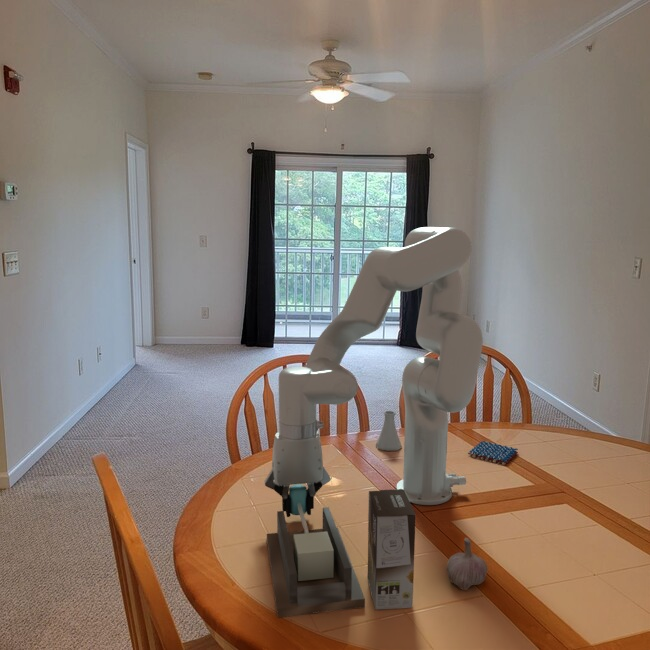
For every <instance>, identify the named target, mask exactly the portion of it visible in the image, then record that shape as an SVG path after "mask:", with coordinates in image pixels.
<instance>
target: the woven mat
mask: <svg viewBox="0 0 650 650" xmlns="http://www.w3.org/2000/svg"><path fill="white" fill-rule="evenodd" d="M518 450H519V448H516V447H513V446H508V445H502V444H498V443H493V442H492V443H491V441H489V442H488V441H485V440H483V441H480V442H479V443H478V444H476V445H475V446H474V447H473V448H471V450H469V452H467V454H468V457H469V458H471V457H472V458H476V459H477V460H482V461H483V460H484V461H488V460H489V463H490V462H492V463H496V464H497V465H499V464H501V465H502V466H504V465H506V464H508V463H509V462H510V460H512V459H513V458H514V457H515V456H517V454H519V452H518Z"/></svg>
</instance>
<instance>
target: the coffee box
mask: <svg viewBox="0 0 650 650" xmlns="http://www.w3.org/2000/svg"><path fill="white" fill-rule="evenodd" d="M367 515H368V518H367V519H368V520H367V522H368V526H367V527H368V528H367V529H368V531H367V532H368V533H367V535H368V537H367V541H368V543H367V577H366V578H367V580H368V585H369V589H370V594H371V597H372V602H373V605H374V609H375V610H392V609H393V610H394V609H396V610H397V609H411V608H412V607H413V603H414V602H413V601H414V600H413V599H414V575H415V574H414V571H415V570H414V569H415V552H416V551H415V548H416V547H415V546H416V544H415V543H416V520H417V519H416V515H417V514H416V512H415V510H414V508H413V506H412V504H411V502H409V500H408V498H407V495H406V493H405V491H404V490H403V489H396V488H394V489H380V490H370V491H368V514H367Z"/></svg>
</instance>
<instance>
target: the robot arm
mask: <svg viewBox="0 0 650 650" xmlns="http://www.w3.org/2000/svg"><path fill="white" fill-rule="evenodd" d="M472 248H473V247H472V242H471V237H469V235H468V234H467V233H466V232H465V231H463V230H462V229H461V228H457V227H450V226H447V227H445V226H444V227H443V226H441V227H439V226H423V227H418V228H415V229H413V230H411V231H410V232H408V234H407V235H406V237H405V241H404V247H397V246H381V247H377V248H374V249H373V250H371V251H370V252H369V254H368V255H367V256H366V258H365V261H364V262H363V264H362V266H361V269H360V271H359V274H358V275H357V277H356V280H355V282H354V284H353V286H352V288H351V291H350V292H349V295H348V297H347V299H346V302H345V305H344V306H343V308H342V309H341V311H340V312H339V314H338V315H336V317H334V319H333V320H332V321H331V322H330V323H329V325H327V327H325V329H324V330H323V331H322V332H321V334H320V335H319V337H317V340H316V342H315V344H314V345H313V347H312V350H311V352H310V354H309V357H308V359H307V361H306V364H305V366H290V367H285V368H284V369H282V370H281V371H280V372H279V375H278V432H276V433H275V435H274V439H273V446H272V463H271V464H272V465H271V467H272V468H271V469H270V471H269V473H268V475H267V476H266V478H265V480H264V486H265V487H267V488H269V489H271V490H274V492H276V494H278V496H280V497H281V498H282V499H281V502H282V503H281V506H282V511H284V512H285V514H286V517H287V518H290V517H291V513H290V497H289V488H290V486H292V485H297V484H299V485H303V484H306V488H307V512H306V514H307V516H312V510H314V507H315V506H314V504H315V503H314V501H315V500H314V499H315V497H316V495H317V494H316V493H317V492H319V491H320V489H321V488H322V487H323V486H325V485H327V484H328V483H329V482H331V480H332V479H331V476H330V474H329V473H328V472H327V470H326V468H325V467H324V463H323V449H322V448H323V447H322V442H321V435H320V433H319V430H320V429H324V421H322V420H321V421H319V420H318V419H317V405H331V406H333V405H335V406H336V405H337V406H338V405H344V404H346V403H348V402H350V401H351V400H352V399H354V398H355V396H356V395H357V393H358V389H359V388H358V387H359V385H358V380H357V378H356V377H355V375H354V374H353V373H352V372H351V370H349V369H347V368H346V367H343V366H342V365H341V363H342V360H343V358H344V357H345V354H346V352H348V350H349V348H350V347H352V345H353V344H354V343H355V342H356V341H357V340H360V339H361V338H363V337H366V336H368V335H370V334H372V333H374V332H376V331H378V330H379V329H380V328H381V327H382V325H383V321H384V319H385V318H386V315H387V313H388V310H389V308H390V306H391V304H392V302H393V299H394V297H395V295H396V293H397V291H398V292H407V293H408V292H411V291H414V290H415V291H416V290H417V289H420V288H422V290H421V291H422V292H421V298H420V299H421V301H420V306H419V311H418V317H417V324H416V330H415V331H416V332H415V338H416V342H417V344H418V345H419V346H420V347H421V348H422V349H423V350H426V351H428V352H430V353H432V354H435V355H438V356H439V359H437V358H434V357H430V356H418V357H414V358H413V359H411V360H410V361H409V362H408V363H407V364H406V365H405V366H404V369H403V372H402V377H401V378H402V379H401V381H402V382H401V384H402V386H401V387H402V393H403V400H404V413H405V414H404V447H403V478H402V479H401V480H399V481H398V482H397V483H396V486H395V489H403V490H404V491H405V493H406V495H407V498H408V500H409V502H410V504H411V503H413V504H416V505H421V506H435V505H441V504H444V503H447V502H448V501H450V500H451V498H452V496H453V490H452V488H453V487H454V486H465V485H466V484H467V478H466V477H465V476H464V475H462V476H459V475H458V476H457V474H456V473H455V472H451V473H447V457H448V456H447V455H448V454H447V453H448V435H449V434H448V431H449V414H448V413H452V414H453V413H458V412H460V411H463V410H464V409H466V408H467V406H468V405H469V404H470V402H471V400H472V398H473V395H474V393H475V389H476V383H477V379H478V375H479V373H478V372H479V370H480V369H479V368H480V363H481V358H482V357H481V356H482V352H483V343H484V341H483V340H484V339H483V332H482V331H481V327H480V325H479V324H478V322H477V321H476V320H474V319H473V318H472V317H470V316H468V315H464V314H461V305H462V297H463V280H462V275H461V273H460V270H459V269H460V268H462V267H463V266H465V264H467V262H468V260H469V259H470V257H471V253H472Z"/></svg>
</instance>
